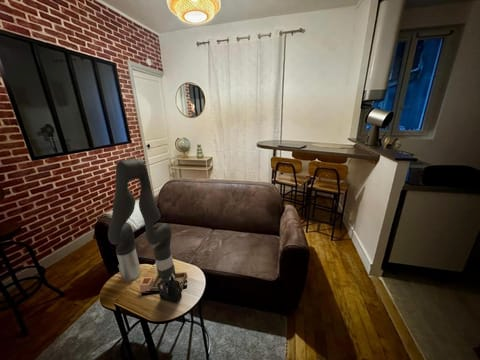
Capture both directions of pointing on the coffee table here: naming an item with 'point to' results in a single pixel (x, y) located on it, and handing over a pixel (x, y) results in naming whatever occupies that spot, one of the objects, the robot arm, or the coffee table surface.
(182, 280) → the trough
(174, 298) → the electronic device
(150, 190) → the robot arm
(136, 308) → the coffee table surface
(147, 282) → the orange open cube box
